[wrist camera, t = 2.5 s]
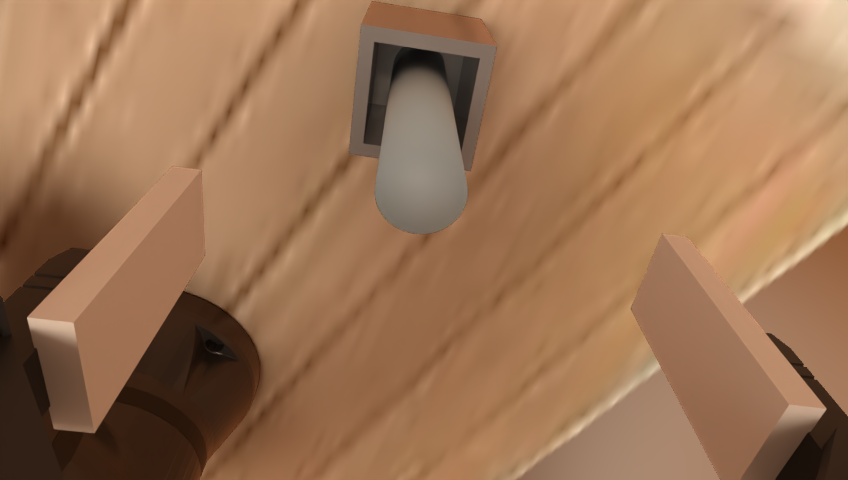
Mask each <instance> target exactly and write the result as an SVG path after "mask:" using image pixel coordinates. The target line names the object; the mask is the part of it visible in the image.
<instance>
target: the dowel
mask: <svg viewBox="0 0 848 480" xmlns="http://www.w3.org/2000/svg"><path fill="white" fill-rule="evenodd" d="M467 197H468V187H467V181H466V175H465V170H464V165H463V160H462V154H461V149H460V144H459V138H458V133H457V128H456V122H455V117H454V112H453V106H452V101H451V96H450V91H449V85H448V80H447V75H446V69H445V64H444V60H443V57H442V55H441V54H440V52H436V51H430V50H423V49H417V48H411V47H403V48H401V49H400V50H399V52H398V53H397V55H396V56H395V59H394V62H393V68H392V75H391V82H390V89H389V95H388V102H387V109H386V116H385V123H384V129H383V136H382V143H381V150H380V156H379V163H378V170H377V177H376V184H375V200H376V204H377V206H378V209H379V211H380V212H381V214H382V215H383V217H384V218H385V219H386V220H387V221H388V222H389V223H390V224H392V225H393V226H394V227H396V228H398V229H400V230H402V231H405V232H408V233H413V234H429V233H434V232H437V231H440V230H442V229H444V228H446V227H448V226H449V225H451V224H452V223H453V222H454V221H455V220H456V219H457V218H458V217H459V216H460V215H461V213H462V211H463V210H464V207H465V205H466V202H467Z"/></svg>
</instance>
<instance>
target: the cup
mask: <svg viewBox="0 0 848 480" xmlns="http://www.w3.org/2000/svg"><path fill="white" fill-rule="evenodd" d="M403 47H411V48H417V49H423V50H430V51H436V52H440V54H441V55H442V57H443V60H444V64H445V69H446V75H447V80H448V85H449V91H450V96H451V101H452V106H453V112H454V117H455V122H456V128H457V133H458V138H459V144H460V149H461V154H462V160H463V165H464V170H466V171H471V168H472V163H473V158H474V154H475V149H476V144H477V139H478V135H479V130H480V125H481V120H482V116H483V111H484V106H485V101H486V97H487V92H488V87H489V82H490V78H491V73H492V68H493V63H494V59H495V54H496V49H497V45H496V43H495V42H494V40H493V38H492V37H491V35H490V33H489V32H488V30H487V28H486V27H485V25H484V23H483V22H482V20H481V19H478V18H472V17H466V16H460V15H453V14H447V13H441V12H435V11H429V10H423V9H417V8H411V7H405V6H399V5H392V4H386V3H380V2H374V1H372V3H371V5H370V7H369V9H368V11H367V13H366V15H365V17H364V19H363V21H362V23H361V30H360V40H359V51H358V61H357V72H356V82H355V93H354V103H353V114H352V124H351V135H350V145H349V154H352V155H359V156H366V157H373V158H379V156H380V150H381V143H382V136H383V129H384V123H385V116H386V109H387V102H388V95H389V89H390V82H391V75H392V68H393V62H394V59H395V56H396V55H397V53H398V52H399V50H400V49H401V48H403Z"/></svg>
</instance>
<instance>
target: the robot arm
mask: <svg viewBox="0 0 848 480" xmlns="http://www.w3.org/2000/svg"><path fill="white" fill-rule="evenodd" d="M204 256H205V239H204V216H203V192H202V170H199V169H191V168H184V167H177V166H172V167H171V168H170V169H169V170H168V171H167V172H166V173H165V175H164V176H163V177H162V178H161V179H160V180H159V181H158V182H157V183H156V184H155V185H154V186H153V187H152V188H151V189H150V190H149V191H148V192H147V193H146V194H145V195H144V196H143V197H142V198H141V199H140V200H139V202H138V203H137V204H136V205H135V206H134V207H133V208H132V209H131V210H130V211H129V212H128V213H127V214H126V215H125V216H124V217H123V218H122V219H121V220H120V221H119V222H118V223H117V224H116V225H115V226H114V227H113V229H112V230H111V231H110V232H109V233H108V234H107V235H106V236H105V237H104V238H103V239H102V240H101V241H100V242H99V243H98V244H97V245H96V246H95V247H94V248H93V249H92V250H84V249H76V248H71V249H69V250H67V251H65V252H63V253H61V254H59V255H57V256H55V257H53V258H51V259H49V260H48V261H47V262H46V263H45V264H44V265H43V266H42V267H41V268H40V269H39V270H38V271H36V272H35V276H31V277H30V278H29V279H28V280H27V281H26V282H25V283H24V284H23V287H20V288H18V289H17V290H16V291H15V292H14V293H13V294H12V295H11V296H10V297H9V298H8V299H7V300H6V301H5V302H3V299H2V297H1V296H0V480H200V477H201V475H202V472H203V469H204V467H205V465H206V462H207V460H208V459H209V458H210V457H211V456H212V455H213V453H214V452H215V451H216V450H217V449H218V448H219V446H220V445H221V444H222V443H223V442H224V441H225V439H226V438H227V437H228V436H229V435H230V434H231V432H232V431H233V430H234V429H235V428H236V427H237V425H238V424H239V423H240V422H241V421H242V420H243V418H244V417H245V415H246V414H247V412H248V410H249V408H250V406H251V404H252V401H253V398H254V396H255V393H256V390H257V387H258V383H259V378H260V364H259V359H258V355H257V352H256V350H255V347H254V345H253V343H252V341H251V340H250V338H249V337H248V335H247V334H246V333H245V331H244V330H243V329H242V328H241V327H240V325H239V324H238V323H237V322H236V321H234V320H233V319H232V318H231V317H230V316H229V315H227V314H226V313H225V312H223V311H222V310H220V309H219V308H217V307H216V306H214V305H212V304H210V303H209V302H207V301H205V300H202V299H200V298H198V297H195V296H193V295H190V294H187V293H184V292H183V290H184V289H185V287H186V285H187V284H188V282H189V281H190V279H191V277H192V276H193V274H194V272H195V271H196V269H197V268H198V266H199V264H200V263H201V261H202V260H203V258H204ZM631 310H632V312H633V314H634V316H635V318H636V320H637V322H638V324H639V326H640V328H641V330H642V331H643V333H644V335H645V337H646V339H647V341H648V343H649V345H650V347H651V349H652V351H653V352H654V354H655V356H656V358H657V360H658V362H659V364H660V366H661V368H662V370H663V372H664V373H665V375H666V377H667V379H668V381H669V383H670V385H671V387H672V388H673V391H674V392H675V394H676V396H677V398H678V400H679V402H680V404H681V406H682V408H683V409H684V412H685V414H686V415H687V417H688V419H689V421H690V423H691V425H692V427H693V429H694V431H695V433H696V435H697V436H698V438H699V440H700V442H701V444H702V446H703V448H704V450H705V452H706V453H707V455H708V457H709V459H710V461H711V463H712V465H713V467H714V469H715V471H716V473H717V475H718V476H719V479H720V480H848V416H847V415H846V414H845V413H844V412H843V411H842V409H841V408H840V407H839V406H838V404H837V403H836V402H835V401H834V400H833V399H832V397H831V396H830V395H829V394H828V392H827V391H826V390H825V389H824V388H823V387H822V385H821V384H820V383H819V382H818V381H817V380H814V376H813V375H812V373H811V372H810V371H809V370H808V369H807V367H803V365H804V364H803V363H802V361H801V360H800V359H799V358H798V357H797V356H796V355H795V353H794V352H793V351H792V350H791V348H789V347H788V346H787V345H785V344H784V343H783V342H781V341H780V340H779V339H777V338H776V337H775V336H774V335H772V334H769V333H765V332H764V331H763V330H762V328H761V327H760V326H759V325H758V323H757V322H756V321H755V320H754V319H753V317H752V316H751V315H750V314H749V312H748V311H747V310H746V309H745V307H744V306H743V305H742V304H741V302H740V301H739V300H738V299H737V298H736V296H735V295H734V294H733V293H732V291H731V290H730V289H729V288H728V286H727V285H726V284H725V283H724V281H723V280H722V279H721V278H720V277H719V275H718V274H717V273H716V272H715V270H714V269H713V268H712V267H711V265H710V264H709V263H708V262H707V261H706V259H705V258H704V257H703V256H702V254H701V253H700V252H699V251H698V249H697V248H696V247H695V246H694V244H693V243H692V242H691V241H690V240H689V238H688V237H686V236H678V235H671V234H664V233H662V235H661V237H660V240H659V242H658V244H657V247H656V249H655V252H654V254H653V256H652V259H651V261H650V264H649V266H648V268H647V271H646V273H645V276H644V278H643V280H642V283H641V285H640V288H639V290H638V292H637V295H636V297H635V300H634V302H633V304H632V307H631Z"/></svg>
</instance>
